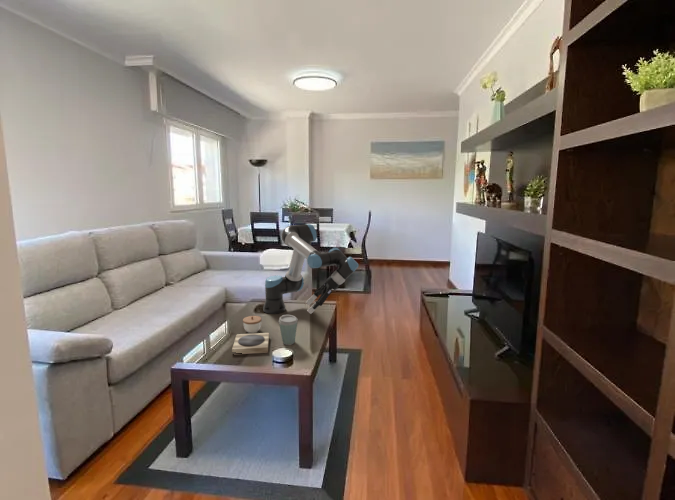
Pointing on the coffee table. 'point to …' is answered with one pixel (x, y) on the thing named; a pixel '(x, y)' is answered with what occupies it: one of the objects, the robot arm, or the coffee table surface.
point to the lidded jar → (252, 323)
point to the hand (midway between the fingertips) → (308, 307)
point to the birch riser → (251, 343)
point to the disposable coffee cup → (288, 328)
